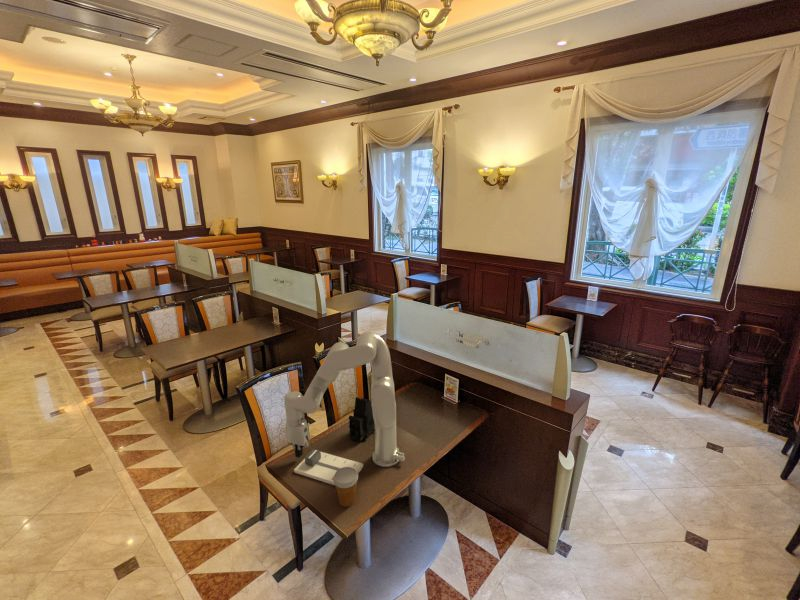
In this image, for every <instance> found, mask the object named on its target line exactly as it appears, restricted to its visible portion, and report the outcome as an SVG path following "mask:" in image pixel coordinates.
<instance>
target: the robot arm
mask: <svg viewBox="0 0 800 600" xmlns="http://www.w3.org/2000/svg"><path fill="white" fill-rule="evenodd" d="M326 354H327V355H326V356H325V358H324V360H323V361H322V363H321V365H320V367H319V368H318V370H317V371H316V374H315V375H314V377H313V379H312V380H311V382H310V383H309V385H308V387H307V389H306V392H305V393H304V395H303V394H302V393H301V392H299V391H293V390H292V391H290V392H287V393H286V394H285V396H284V399H283V401H284V407H285V408H284V409H285V417H286V423H285V429H284V430H285V433H284V434H285V438H286V441H287V442H288V443H289V444H291V446H292V448H293V450H294V455H295V458H297V459H298V458H300V457H301V456H302V455H304V450H303V448H308V447H309V446H310V444H309V441H311V434H310V428H309V425H308V422H307V419H305V414H315V413H317V411H318V410H319V408H320V406H321V402H322V399H323V396H324V394H325V393H326V391H327V390H328V388H329V386H330V384H331V383H334V382H336V380H337V379H338V377H339V375H340V374H341V372H342V371H346V370H347V371H348V370H350V369H353V368H357V367H361V366H363V365H366V364H369V363H370V368H371V377H372V379H371V384H370V385H371V386H370V398H371V399H370V401H371V406H372V411H373V419H374V429H375V431H374V445H375V450H374V451H373V452H372V454H371V455H372V461H373V463H374V464H375V465H377V466H380V467H382V468H385V467H386V468H387V467H388V468H389V467H393V466H395V465H397V464H398V462H400V461H402V462H405V460H406V457H405V453H404V452H401V451H400V448H399V447H398V446H397V443H398V442H397V402H396V397H395V394H396V393H395V382H394V378H393V367H392V361H391V359H392V358H391V353H390V349H389V346H388V345H387V342H386V341H385V340H384V339H383V337H381V336H380V335H379V334H377V333H376V332H371V331H365V332H363V333H361V334H360V335H359V337H358V338H357V340H356V345H354V346H351V347H350V346H349V345H348V344H347V343H346V342H344V341H343V342H342V341H340V342H339V341H338V342H336V343H334V344H333V345H332V346H331V348H330V349H329V350H328V353H326Z"/></svg>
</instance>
